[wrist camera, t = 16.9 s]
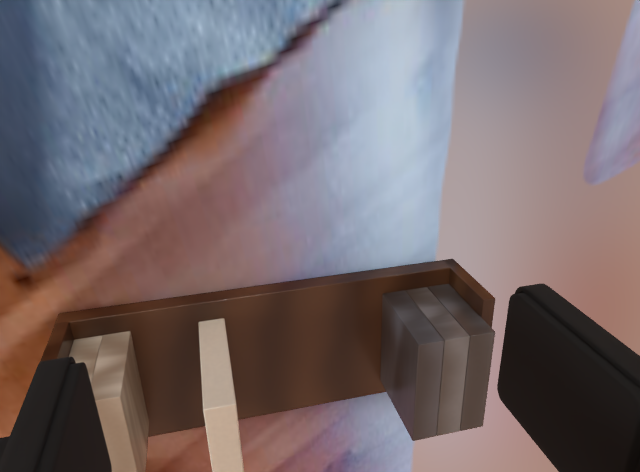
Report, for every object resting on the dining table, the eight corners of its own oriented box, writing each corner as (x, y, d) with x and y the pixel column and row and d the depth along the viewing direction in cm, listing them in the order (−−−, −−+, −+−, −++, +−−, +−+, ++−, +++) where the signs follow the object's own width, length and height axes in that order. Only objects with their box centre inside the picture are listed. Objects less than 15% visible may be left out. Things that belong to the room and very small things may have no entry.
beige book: (224, 317, 41) (236, 403, 32) (234, 407, 45) (248, 507, 36) (198, 321, 41) (202, 410, 32) (211, 412, 44) (218, 514, 35)
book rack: (452, 258, 46) (510, 312, 38) (443, 370, 51) (492, 438, 43) (58, 313, 39) (27, 391, 31) (91, 435, 44) (71, 530, 36)
